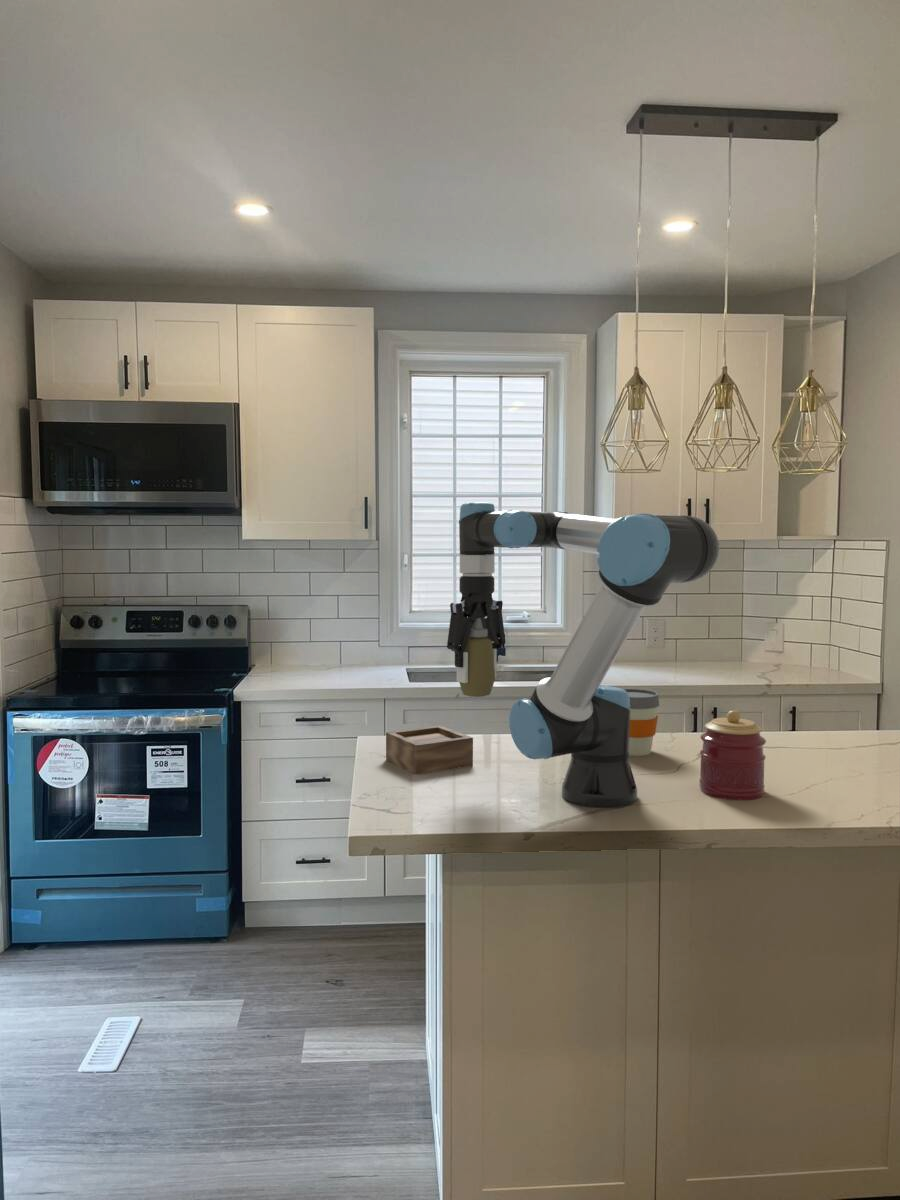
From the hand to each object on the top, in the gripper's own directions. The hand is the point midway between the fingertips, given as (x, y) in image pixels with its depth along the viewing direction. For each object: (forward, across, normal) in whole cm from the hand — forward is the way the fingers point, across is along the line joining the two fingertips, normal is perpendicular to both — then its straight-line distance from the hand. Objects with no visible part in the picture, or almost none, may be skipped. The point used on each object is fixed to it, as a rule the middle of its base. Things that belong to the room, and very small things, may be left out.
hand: (476, 679), depth 189 cm
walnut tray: (+23, -2, -18) cm, 29 cm away
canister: (+23, -33, +42) cm, 58 cm away
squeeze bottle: (+4, 0, 0) cm, 4 cm away
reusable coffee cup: (+23, -47, +8) cm, 52 cm away
